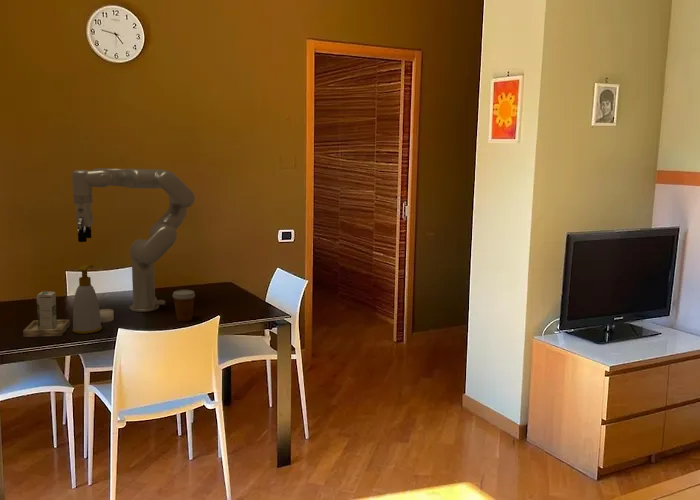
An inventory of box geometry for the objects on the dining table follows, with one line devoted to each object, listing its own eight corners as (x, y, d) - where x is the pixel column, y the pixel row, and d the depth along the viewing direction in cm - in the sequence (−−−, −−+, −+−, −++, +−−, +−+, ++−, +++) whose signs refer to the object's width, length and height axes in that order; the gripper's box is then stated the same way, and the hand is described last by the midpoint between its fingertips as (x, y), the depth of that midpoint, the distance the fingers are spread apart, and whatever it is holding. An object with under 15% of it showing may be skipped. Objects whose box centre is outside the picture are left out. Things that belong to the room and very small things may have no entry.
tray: (70, 325, 279) (69, 319, 279) (61, 335, 266) (61, 329, 265) (33, 326, 277) (33, 320, 277) (23, 336, 263) (23, 330, 263)
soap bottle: (107, 327, 278) (105, 264, 274) (92, 335, 267) (89, 270, 262) (82, 325, 280) (79, 262, 275) (66, 333, 269) (62, 268, 264)
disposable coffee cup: (184, 323, 285) (183, 296, 283) (168, 320, 290) (167, 292, 288) (200, 318, 293) (200, 291, 291) (184, 315, 298) (184, 288, 296)
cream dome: (115, 317, 292) (114, 308, 291) (112, 322, 285) (111, 313, 285) (97, 318, 291) (97, 309, 290) (94, 322, 284) (94, 313, 283)
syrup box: (42, 326, 274) (39, 291, 271) (57, 326, 275) (55, 291, 272) (37, 330, 268) (35, 295, 266) (53, 330, 269) (51, 294, 266)
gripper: (88, 202, 277) (90, 243, 280) (96, 197, 294) (98, 236, 297) (68, 201, 276) (70, 243, 279) (78, 197, 292) (80, 236, 295)
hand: (85, 239), depth 288 cm, fingers open, 9 cm apart
